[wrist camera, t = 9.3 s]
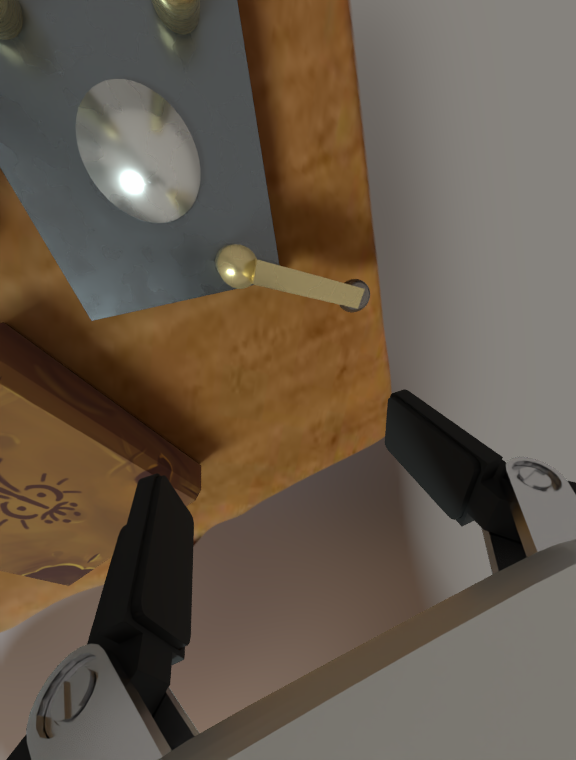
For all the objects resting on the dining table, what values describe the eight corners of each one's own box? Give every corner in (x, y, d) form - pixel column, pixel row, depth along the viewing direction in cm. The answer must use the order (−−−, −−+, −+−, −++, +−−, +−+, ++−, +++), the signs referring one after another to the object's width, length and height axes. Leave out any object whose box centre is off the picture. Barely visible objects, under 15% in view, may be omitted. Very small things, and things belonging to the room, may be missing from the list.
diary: (201, 459, 33) (201, 496, 28) (88, 536, 33) (69, 586, 28) (10, 318, 20) (-51, 343, 15) (-172, 446, 20) (-288, 510, 15)
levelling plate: (-120, -71, 11) (-304, -253, 7) (219, -59, 14) (226, -184, 10) (100, 314, 21) (75, 331, 17) (275, 276, 24) (291, 283, 20)
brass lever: (213, 277, 20) (216, 285, 16) (217, 240, 19) (221, 238, 15) (344, 307, 25) (371, 319, 21) (353, 279, 24) (384, 286, 20)
